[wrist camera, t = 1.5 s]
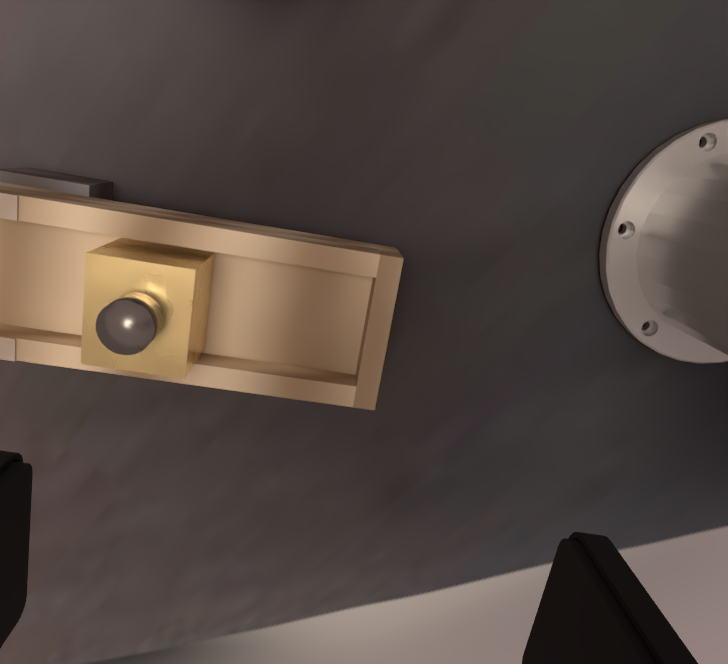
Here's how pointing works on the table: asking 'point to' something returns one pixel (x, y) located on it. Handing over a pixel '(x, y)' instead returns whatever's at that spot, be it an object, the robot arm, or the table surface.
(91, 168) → the table surface
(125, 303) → the rider
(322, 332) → the beam
